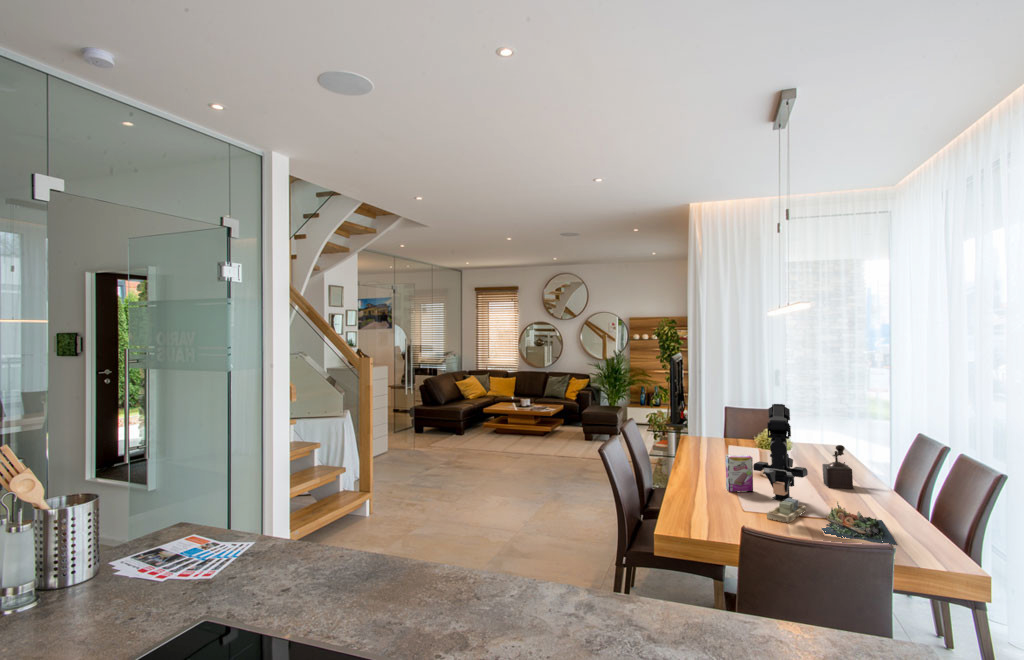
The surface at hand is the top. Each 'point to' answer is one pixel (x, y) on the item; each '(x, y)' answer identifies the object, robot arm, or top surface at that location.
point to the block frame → (786, 510)
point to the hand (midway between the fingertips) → (780, 491)
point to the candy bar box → (739, 473)
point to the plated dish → (857, 527)
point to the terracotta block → (779, 488)
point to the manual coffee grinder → (837, 472)
